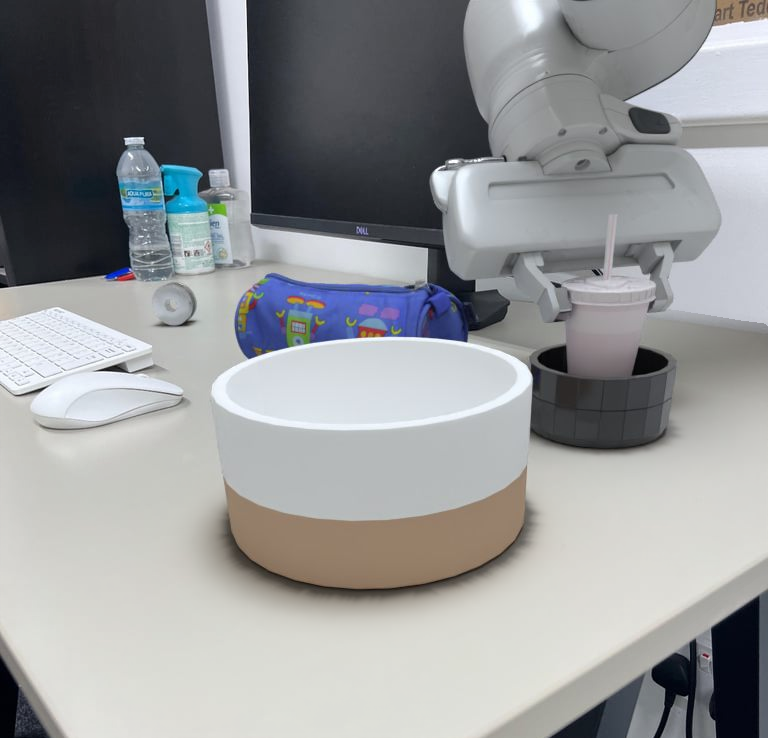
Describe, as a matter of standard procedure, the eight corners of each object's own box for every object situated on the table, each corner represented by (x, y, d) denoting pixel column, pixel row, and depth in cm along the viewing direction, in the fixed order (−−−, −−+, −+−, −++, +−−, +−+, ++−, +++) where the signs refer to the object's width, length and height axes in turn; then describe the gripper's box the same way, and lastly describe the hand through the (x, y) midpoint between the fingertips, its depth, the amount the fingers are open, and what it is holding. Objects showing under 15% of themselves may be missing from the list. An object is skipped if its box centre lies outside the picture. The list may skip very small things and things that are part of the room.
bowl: (449, 627, 32) (450, 453, 28) (166, 545, 40) (137, 400, 36) (563, 481, 45) (574, 349, 42) (334, 441, 53) (325, 327, 49)
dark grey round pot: (620, 397, 60) (627, 336, 57) (696, 439, 51) (708, 369, 49) (505, 411, 58) (507, 349, 55) (563, 457, 49) (569, 386, 47)
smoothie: (630, 402, 56) (653, 209, 50) (649, 431, 51) (677, 218, 44) (547, 402, 57) (559, 212, 51) (556, 431, 52) (571, 221, 45)
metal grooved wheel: (155, 325, 92) (148, 285, 90) (165, 320, 95) (158, 281, 93) (192, 325, 92) (186, 284, 89) (201, 320, 94) (195, 280, 92)
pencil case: (479, 383, 65) (482, 272, 60) (431, 411, 58) (430, 289, 54) (291, 356, 76) (281, 261, 71) (233, 377, 69) (219, 274, 65)
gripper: (432, 126, 49) (481, 298, 45) (698, 115, 53) (765, 272, 49) (415, 194, 55) (457, 352, 51) (655, 180, 59) (712, 325, 55)
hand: (610, 312), depth 50 cm, fingers closed on smoothie, 6 cm apart
